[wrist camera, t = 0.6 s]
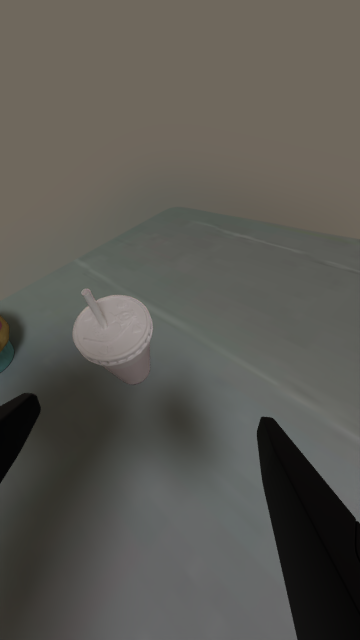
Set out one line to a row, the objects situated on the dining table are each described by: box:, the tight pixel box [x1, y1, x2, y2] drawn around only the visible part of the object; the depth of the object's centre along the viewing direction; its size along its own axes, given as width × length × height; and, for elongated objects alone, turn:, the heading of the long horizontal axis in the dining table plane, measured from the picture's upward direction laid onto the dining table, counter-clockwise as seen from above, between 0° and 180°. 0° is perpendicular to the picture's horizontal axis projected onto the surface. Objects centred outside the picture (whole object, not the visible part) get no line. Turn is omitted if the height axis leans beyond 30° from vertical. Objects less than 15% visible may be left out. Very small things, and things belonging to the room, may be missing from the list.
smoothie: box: [73, 289, 153, 384], centre depth 21 cm, size 6×6×14 cm
